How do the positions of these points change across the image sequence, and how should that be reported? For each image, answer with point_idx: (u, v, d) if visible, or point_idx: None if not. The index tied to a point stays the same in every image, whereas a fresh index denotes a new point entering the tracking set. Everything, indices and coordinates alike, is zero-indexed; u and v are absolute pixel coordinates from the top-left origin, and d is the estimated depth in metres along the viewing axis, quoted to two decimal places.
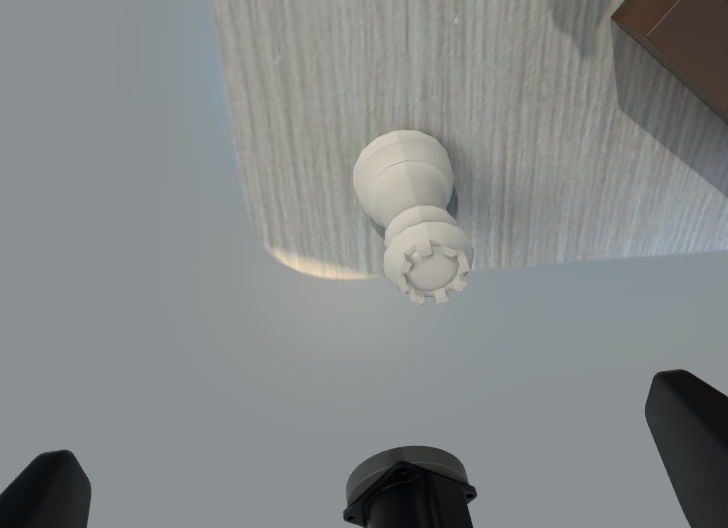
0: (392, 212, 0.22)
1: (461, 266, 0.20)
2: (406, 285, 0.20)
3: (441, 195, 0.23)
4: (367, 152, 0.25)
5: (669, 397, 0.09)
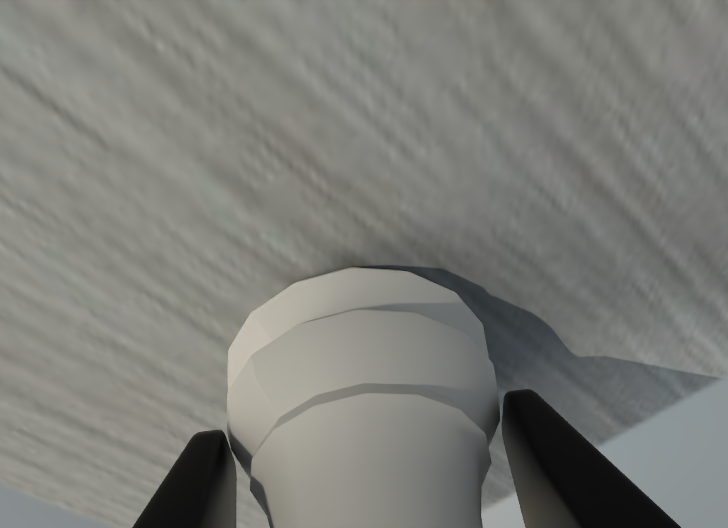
0: None
1: None
2: None
3: (413, 497, 0.07)
4: None
5: (512, 418, 0.09)
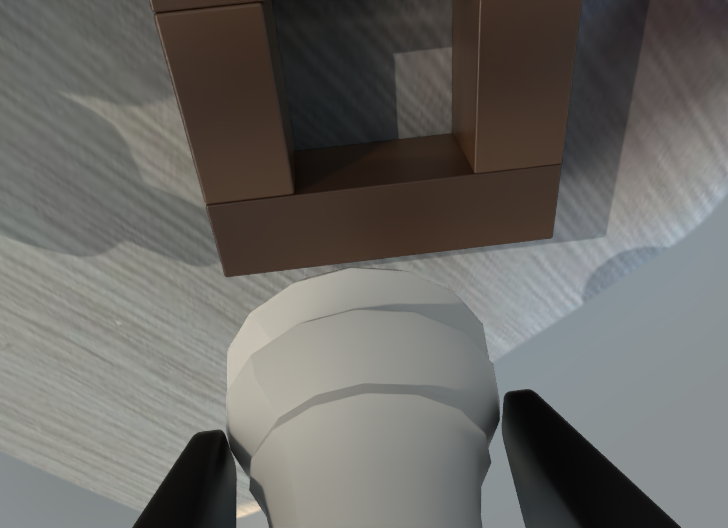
0: None
1: None
2: None
3: (413, 498, 0.07)
4: None
5: (512, 418, 0.09)
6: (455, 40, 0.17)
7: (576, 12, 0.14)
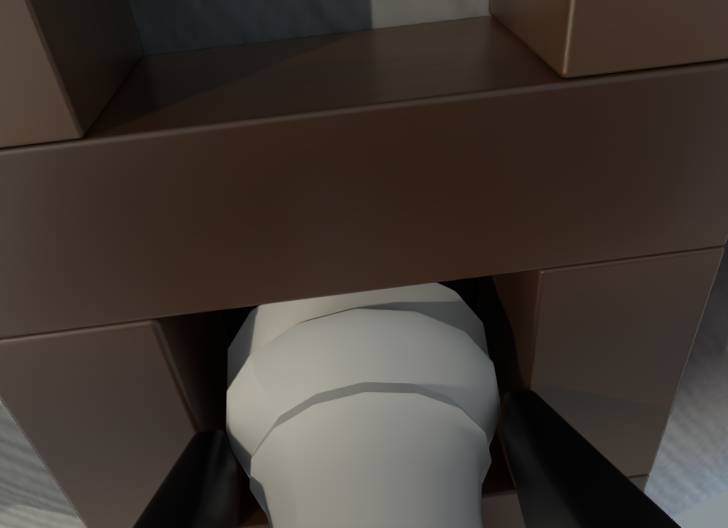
0: None
1: None
2: None
3: (413, 496, 0.07)
4: None
5: (513, 418, 0.09)
6: (484, 278, 0.11)
7: (699, 306, 0.08)
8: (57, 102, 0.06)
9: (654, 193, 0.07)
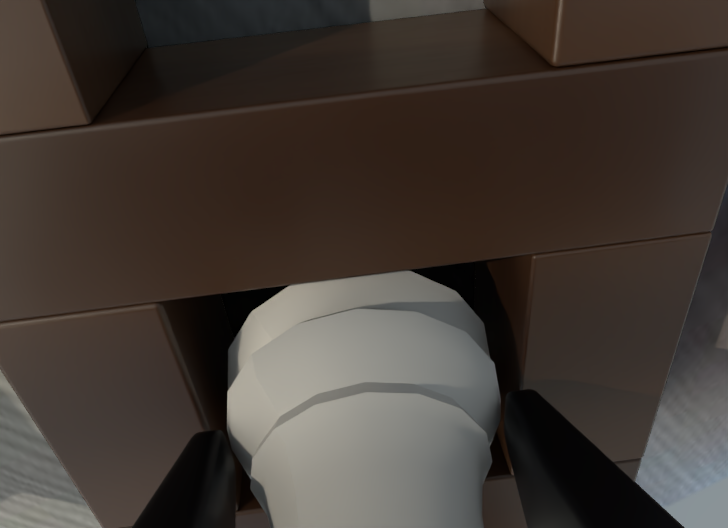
0: None
1: None
2: None
3: (414, 497, 0.07)
4: None
5: (514, 417, 0.09)
6: (480, 267, 0.11)
7: (688, 291, 0.09)
8: (66, 89, 0.06)
9: (643, 179, 0.07)
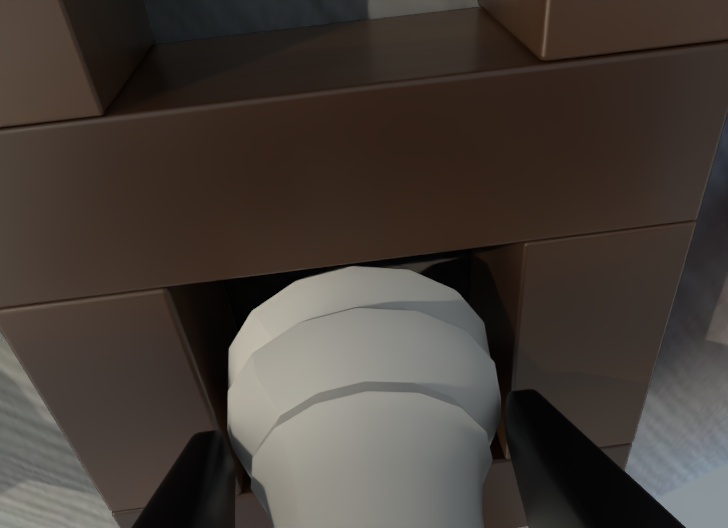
0: None
1: None
2: None
3: (415, 495, 0.07)
4: None
5: (515, 417, 0.09)
6: (476, 258, 0.11)
7: (674, 278, 0.09)
8: (80, 81, 0.06)
9: (629, 169, 0.08)
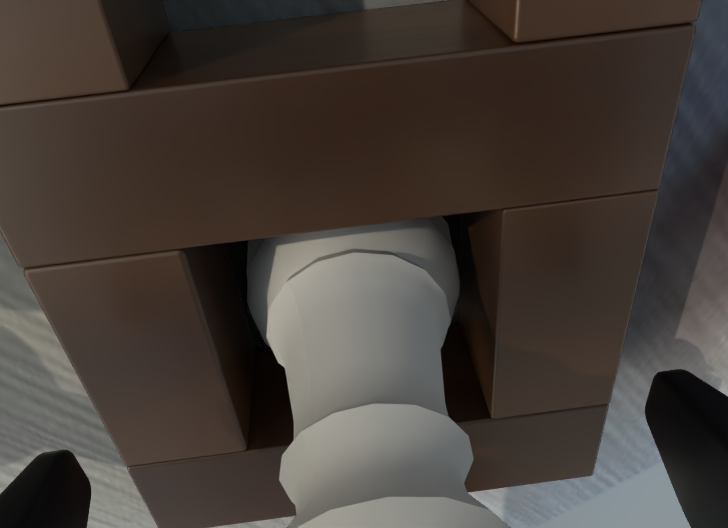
0: None
1: None
2: None
3: (387, 317, 0.09)
4: None
5: (669, 397, 0.09)
6: (464, 233, 0.12)
7: (641, 243, 0.10)
8: (110, 59, 0.07)
9: (595, 142, 0.09)
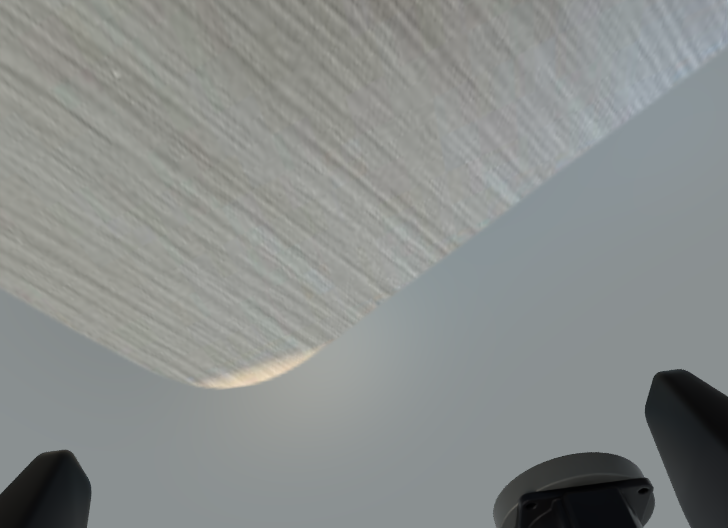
0: None
1: None
2: None
3: None
4: None
5: (669, 397, 0.09)
6: None
7: None
8: None
9: None
